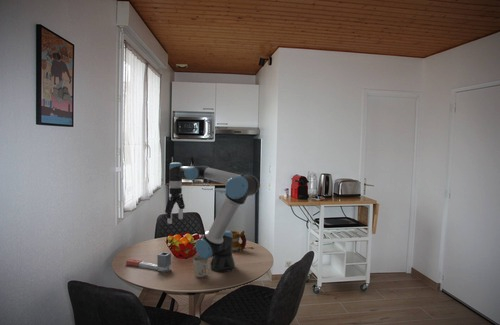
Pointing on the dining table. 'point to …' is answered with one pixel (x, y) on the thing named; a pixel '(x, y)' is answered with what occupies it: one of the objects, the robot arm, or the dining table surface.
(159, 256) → the socket
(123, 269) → the dining table surface
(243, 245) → the mug
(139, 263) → the ratchet
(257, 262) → the dining table surface
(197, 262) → the mug
